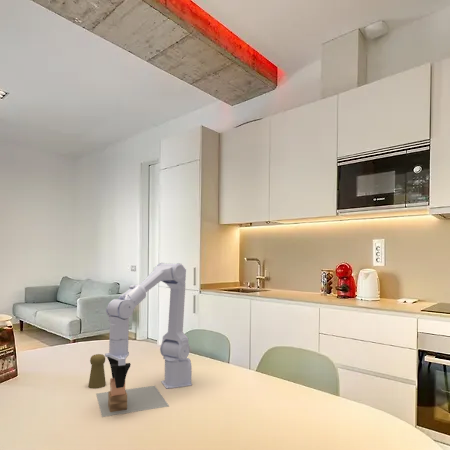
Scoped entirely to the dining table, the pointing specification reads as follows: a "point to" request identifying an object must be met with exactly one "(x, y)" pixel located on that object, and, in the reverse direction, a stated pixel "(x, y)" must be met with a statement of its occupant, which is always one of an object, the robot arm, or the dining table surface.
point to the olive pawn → (97, 372)
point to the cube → (114, 390)
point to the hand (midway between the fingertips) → (118, 383)
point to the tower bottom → (117, 406)
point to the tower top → (117, 398)
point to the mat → (134, 401)
